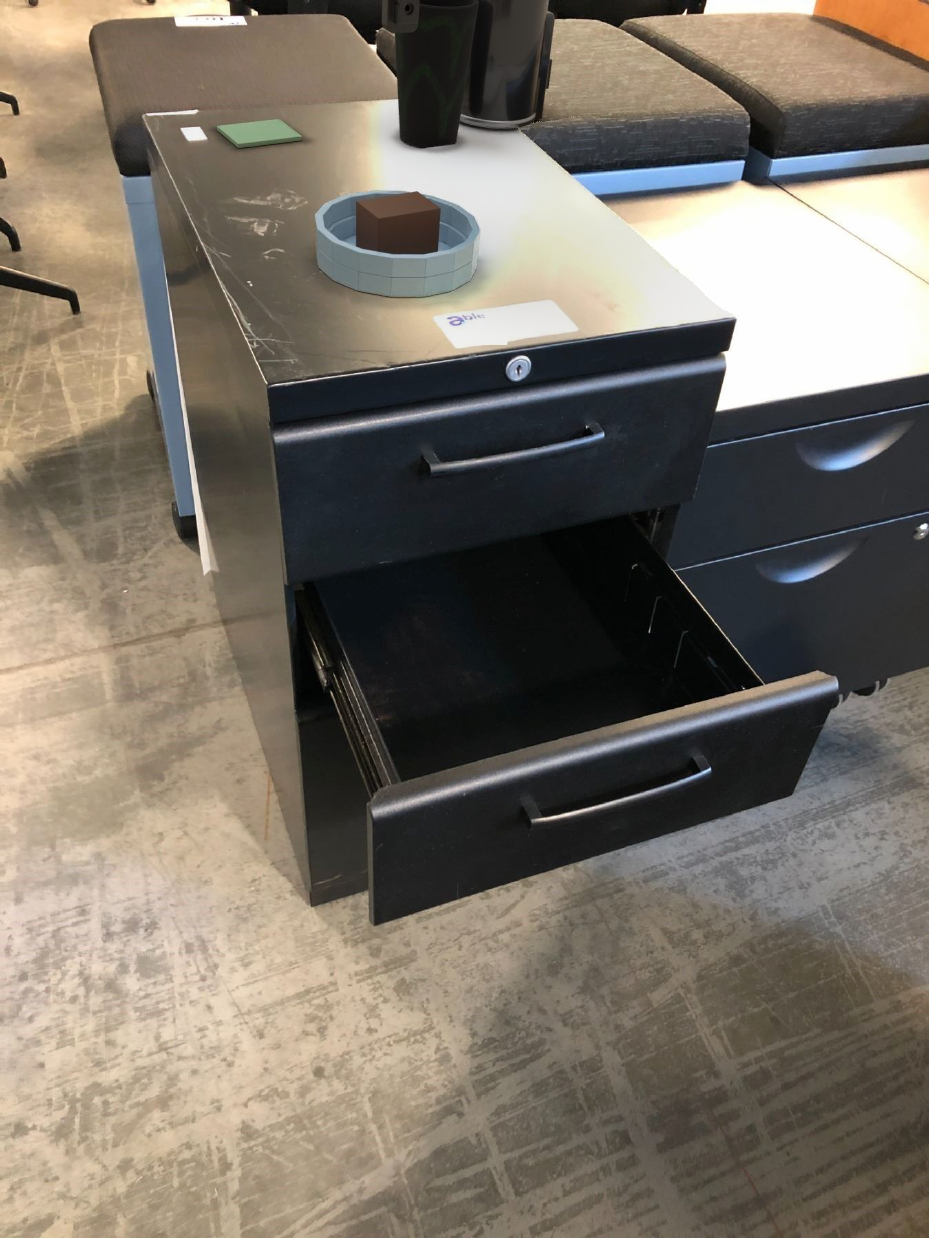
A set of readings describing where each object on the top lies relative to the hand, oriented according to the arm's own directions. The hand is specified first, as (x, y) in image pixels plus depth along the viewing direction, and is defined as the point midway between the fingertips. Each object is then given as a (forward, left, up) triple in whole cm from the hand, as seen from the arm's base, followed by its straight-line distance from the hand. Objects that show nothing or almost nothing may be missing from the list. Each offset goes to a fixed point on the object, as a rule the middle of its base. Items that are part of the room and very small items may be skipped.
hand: (367, 14), depth 63 cm
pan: (-2, +2, -16) cm, 17 cm away
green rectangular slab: (-4, -27, -16) cm, 32 cm away
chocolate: (-2, +2, -16) cm, 16 cm away
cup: (-19, -21, -17) cm, 33 cm away
